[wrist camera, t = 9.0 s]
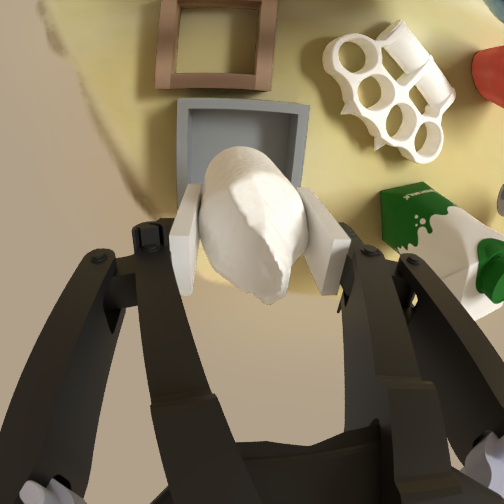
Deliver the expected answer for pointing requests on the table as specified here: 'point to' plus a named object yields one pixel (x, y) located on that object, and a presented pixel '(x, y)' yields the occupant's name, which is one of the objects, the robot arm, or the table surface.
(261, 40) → the holder
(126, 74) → the table surface
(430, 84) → the white brass knuckles
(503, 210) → the wine glass
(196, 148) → the tray
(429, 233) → the milk carton
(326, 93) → the table surface
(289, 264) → the white tall rounded piece
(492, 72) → the flower pot
